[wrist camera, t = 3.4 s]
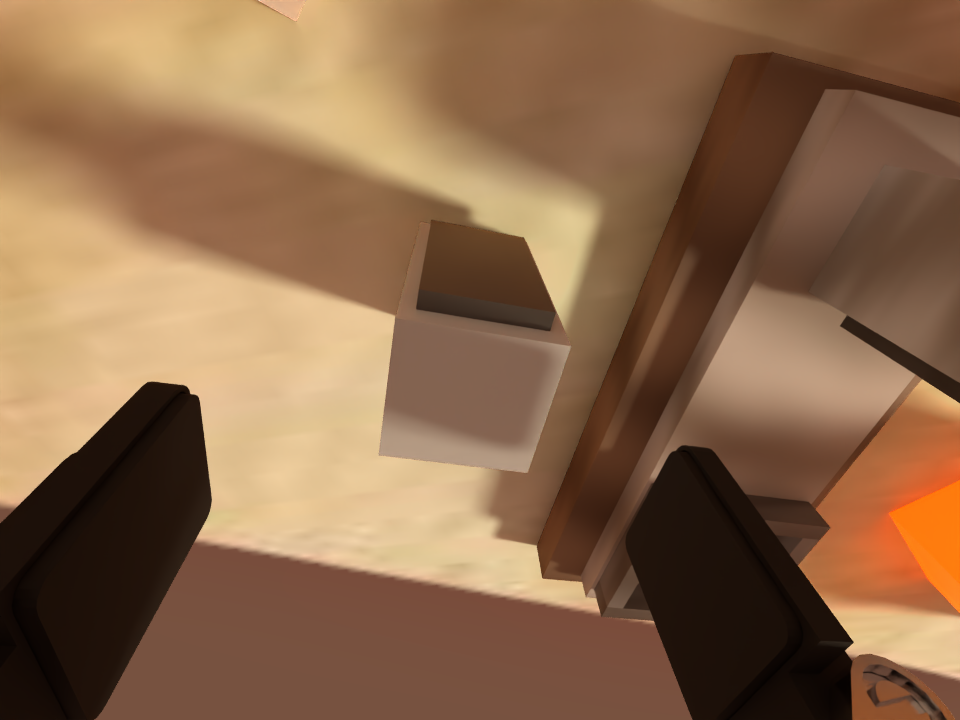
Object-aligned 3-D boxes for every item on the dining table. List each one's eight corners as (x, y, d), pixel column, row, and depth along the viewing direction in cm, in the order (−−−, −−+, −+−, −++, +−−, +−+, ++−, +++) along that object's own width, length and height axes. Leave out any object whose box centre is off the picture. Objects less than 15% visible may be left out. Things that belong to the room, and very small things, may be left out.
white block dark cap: (422, 207, 17) (397, 296, 10) (529, 228, 17) (577, 327, 10) (407, 319, 19) (378, 455, 12) (502, 334, 19) (527, 472, 13)
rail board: (735, 55, 15) (1270, 8, 5) (1045, 137, 16) (1888, 220, 7) (536, 546, 27) (582, 809, 17) (726, 564, 28) (865, 813, 19)
